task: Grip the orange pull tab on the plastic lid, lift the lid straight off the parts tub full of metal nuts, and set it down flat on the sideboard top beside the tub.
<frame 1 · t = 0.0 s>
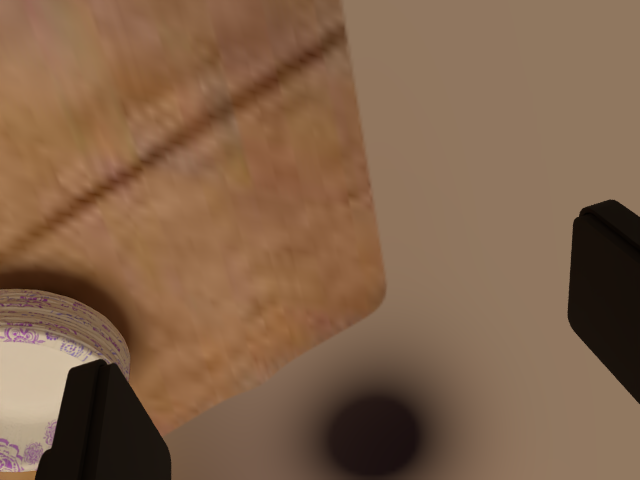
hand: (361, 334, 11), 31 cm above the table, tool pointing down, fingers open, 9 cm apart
paper bowls: (38, 335, 47), on the table
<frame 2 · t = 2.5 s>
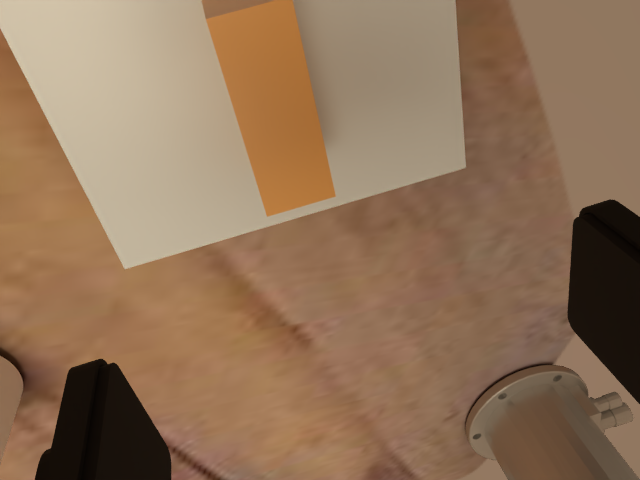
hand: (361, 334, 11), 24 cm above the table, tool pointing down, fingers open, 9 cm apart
lid: (257, 71, 26), point 6 cm above the table, touching parts tub
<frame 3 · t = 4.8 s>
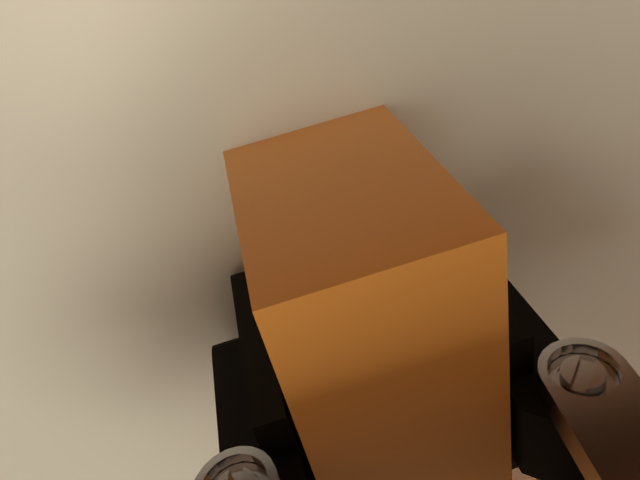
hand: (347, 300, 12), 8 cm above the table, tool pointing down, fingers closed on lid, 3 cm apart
lid: (324, 245, 14), point 6 cm above the table, touching gripper, parts tub
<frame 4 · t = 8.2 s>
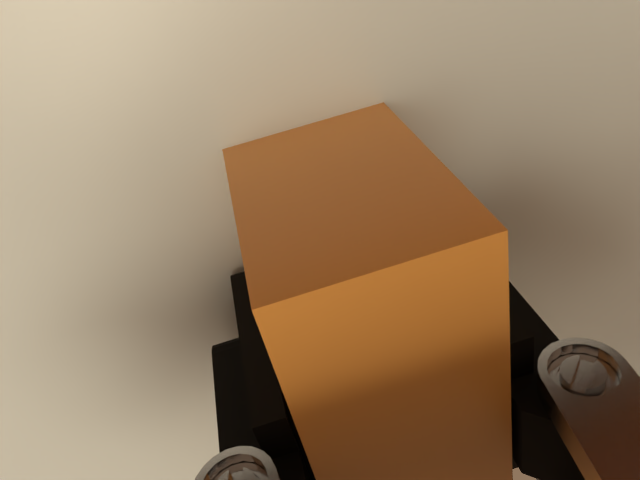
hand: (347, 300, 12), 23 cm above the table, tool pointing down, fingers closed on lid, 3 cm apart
lid: (324, 244, 14), point 20 cm above the table, touching gripper
when the fingers open (4 cm above the table, at t = 11.5 s): lid drops 1 cm, on the table.
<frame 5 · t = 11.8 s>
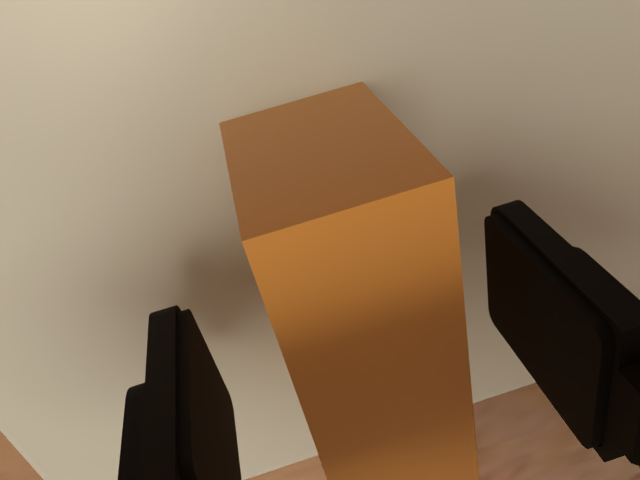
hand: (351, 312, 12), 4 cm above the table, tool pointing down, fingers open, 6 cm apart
lid: (313, 216, 15), on the table
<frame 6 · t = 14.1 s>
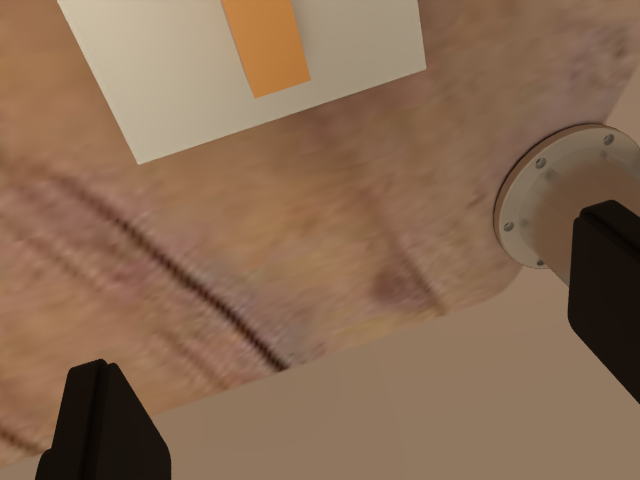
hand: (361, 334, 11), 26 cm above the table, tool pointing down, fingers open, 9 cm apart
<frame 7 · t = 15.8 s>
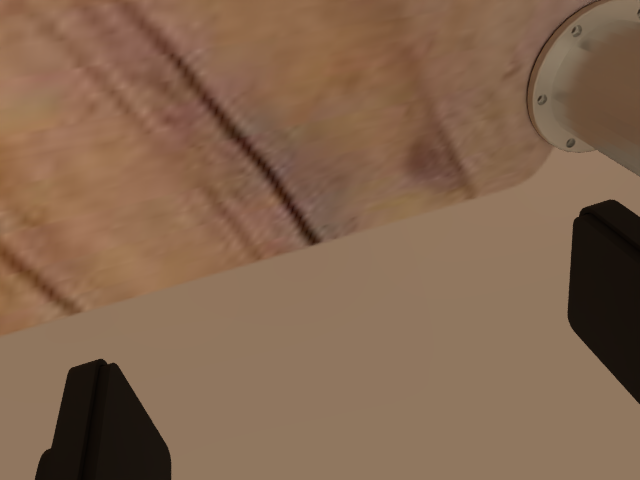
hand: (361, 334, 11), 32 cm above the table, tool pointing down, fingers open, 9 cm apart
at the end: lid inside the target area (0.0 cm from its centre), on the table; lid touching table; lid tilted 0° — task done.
